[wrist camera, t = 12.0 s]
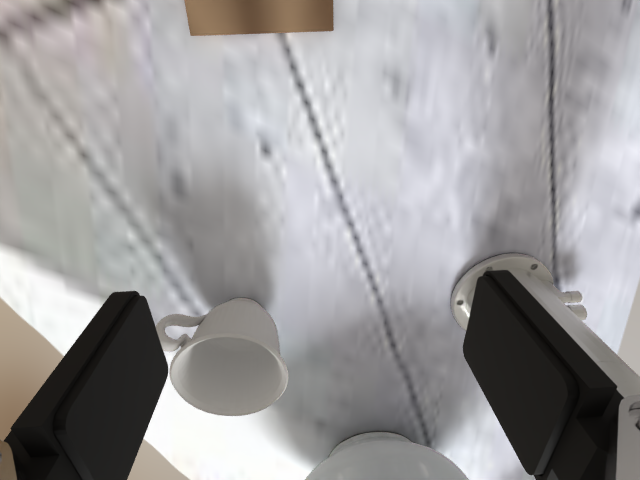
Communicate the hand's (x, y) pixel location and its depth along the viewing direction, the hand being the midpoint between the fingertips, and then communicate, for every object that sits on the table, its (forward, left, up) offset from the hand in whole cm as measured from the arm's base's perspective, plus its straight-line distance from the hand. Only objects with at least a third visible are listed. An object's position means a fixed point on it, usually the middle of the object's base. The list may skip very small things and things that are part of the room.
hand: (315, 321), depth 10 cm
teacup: (+10, +22, -28) cm, 37 cm away
